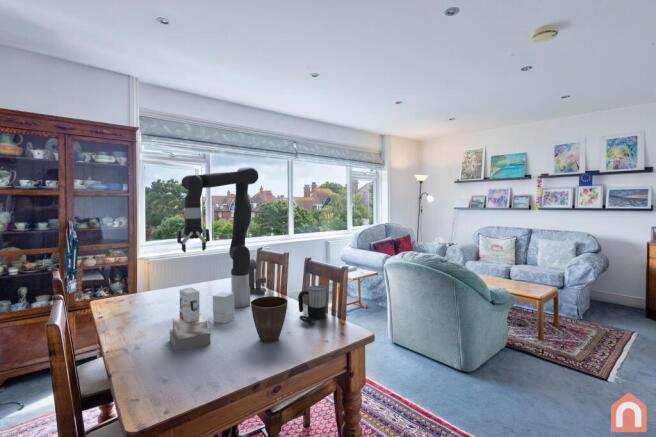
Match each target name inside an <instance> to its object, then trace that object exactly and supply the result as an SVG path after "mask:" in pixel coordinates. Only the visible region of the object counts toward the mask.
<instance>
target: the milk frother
mask: <svg viewBox="0 0 656 437" xmlns="http://www.w3.org/2000/svg"><path fill="white" fill-rule="evenodd" d="M327 289H328V288H327V287H326V286H325V285H311V286H308V287H307V289H302V290H301V291H299V293H298V302H297V303H298V312H299V313H302V312H304V297H303V296H304V295H307V316H306V315H299V319H300V321H302V322H303V323H305V324H307V325H309V326H310V325H311V326H312V325H315V324H316V321H323V320H326V318H327V313H326V312H327V310H326V309H327V308H326V307H327V305H326V304H327V303H326V302H327V301H326V298H327Z"/></svg>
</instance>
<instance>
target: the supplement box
mask: <svg viewBox="0 0 656 437" xmlns="http://www.w3.org/2000/svg"><path fill="white" fill-rule="evenodd" d="M235 318H236V317H235V307H234V293H231V292H225V291H219V292H218V293H216V294H214V295H212V321H213V322H214V323H220V324H221V323H223V324H227V323H229V322H231V321H232V320H234V319H235Z"/></svg>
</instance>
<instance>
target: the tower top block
mask: <svg viewBox="0 0 656 437" xmlns="http://www.w3.org/2000/svg"><path fill="white" fill-rule="evenodd" d="M199 314H200V320H197V321H193V322H189V323H188V322H186V321H185V320H183V319H181V318H180V316H178V317H173V318H172V329H173V331H174V333H175V335H176V337H177V339H178V340H179V339H183V338H188V337H193V336H197V335H202V334H207V333H208V331H209V329H208V326H209V325H208V319H206V317H205V316H204V315H203V314H202V313H201V312H199Z"/></svg>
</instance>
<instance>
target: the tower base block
mask: <svg viewBox="0 0 656 437" xmlns="http://www.w3.org/2000/svg"><path fill="white" fill-rule="evenodd" d="M169 341H170V344H171V346H172V348H173V350H174V353H178V352H183V351H187V350H191V349H195V348H200V347H205V346H209V345H211V344H212V342H211V332H210V331H209V330H208V333H207V334H202V335H197V336H193V337H188V338H183V339H179V340H178V339H177V337H176V335H175V333H174V331H173V328H170V329H169Z"/></svg>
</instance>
